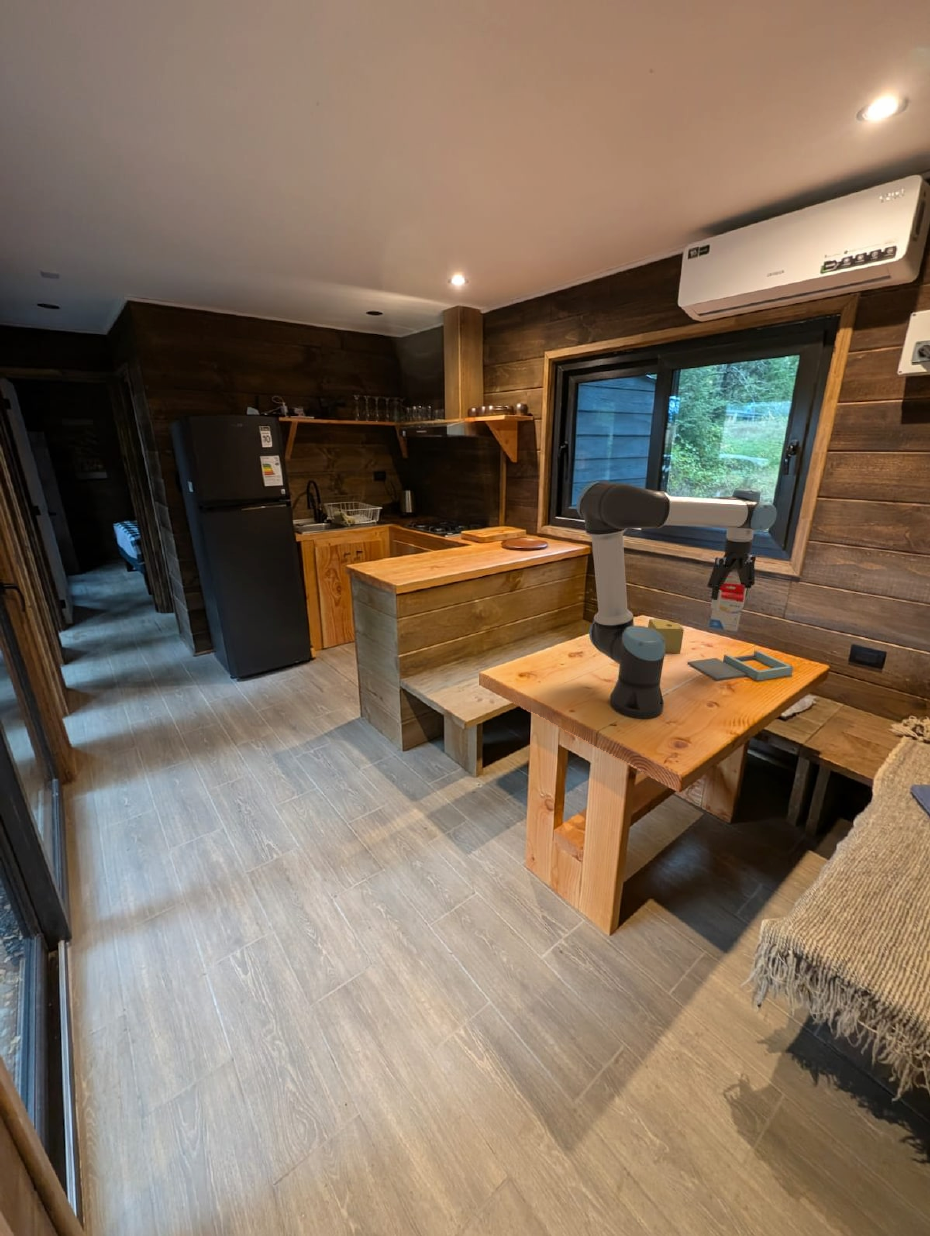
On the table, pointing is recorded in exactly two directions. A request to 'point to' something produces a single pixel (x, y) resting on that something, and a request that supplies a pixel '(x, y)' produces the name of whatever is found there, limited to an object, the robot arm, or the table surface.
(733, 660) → the open picture frame
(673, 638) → the cheese
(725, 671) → the slate pad
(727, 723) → the table surface
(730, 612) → the ink box
